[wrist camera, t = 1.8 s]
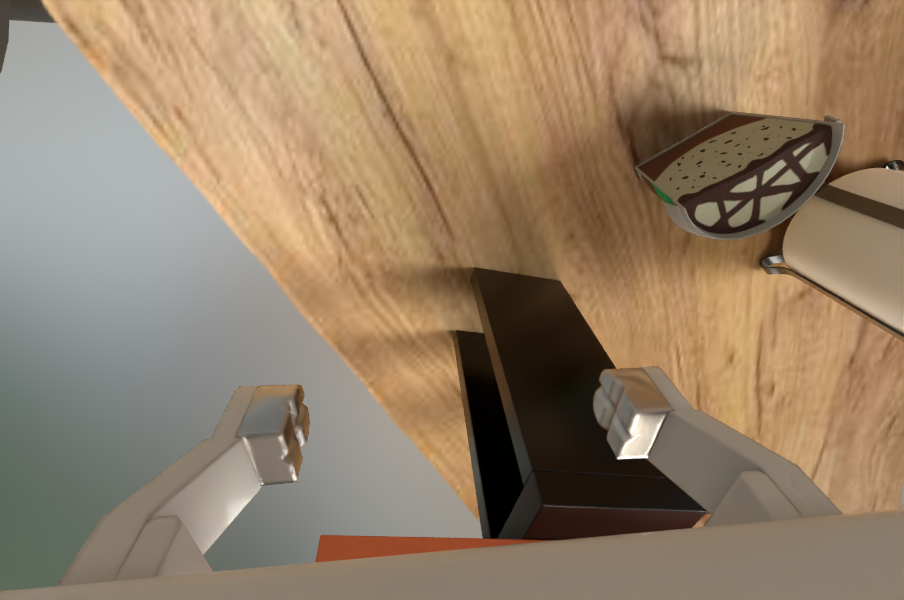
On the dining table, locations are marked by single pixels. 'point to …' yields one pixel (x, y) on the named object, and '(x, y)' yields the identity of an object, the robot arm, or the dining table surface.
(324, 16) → the dining table surface
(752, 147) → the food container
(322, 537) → the terracotta bar
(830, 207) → the coffee press
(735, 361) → the dining table surface
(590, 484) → the frame
